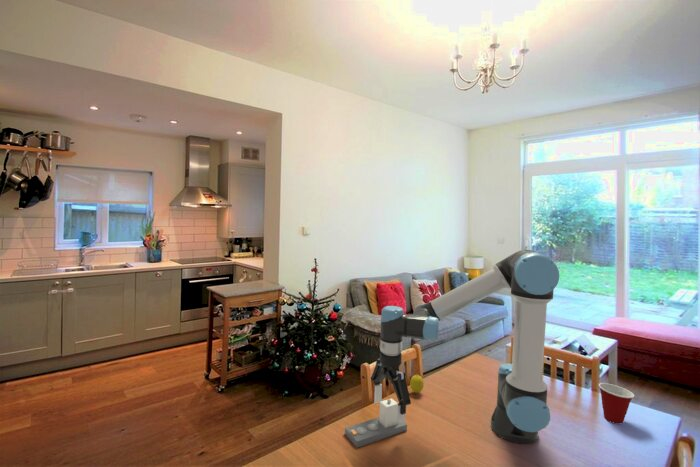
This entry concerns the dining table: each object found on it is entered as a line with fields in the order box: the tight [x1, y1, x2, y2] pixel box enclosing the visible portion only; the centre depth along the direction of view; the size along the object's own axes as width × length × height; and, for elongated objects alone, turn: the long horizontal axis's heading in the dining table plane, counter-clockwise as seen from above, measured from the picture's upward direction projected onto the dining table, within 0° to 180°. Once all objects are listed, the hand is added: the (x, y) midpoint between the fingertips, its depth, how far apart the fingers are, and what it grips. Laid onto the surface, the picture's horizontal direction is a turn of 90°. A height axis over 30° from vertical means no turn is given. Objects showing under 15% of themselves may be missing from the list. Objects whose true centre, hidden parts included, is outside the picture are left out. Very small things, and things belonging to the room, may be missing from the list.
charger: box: [378, 398, 398, 429], centre depth 121 cm, size 4×5×10 cm
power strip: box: [344, 417, 408, 448], centre depth 119 cm, size 8×20×4 cm, turn 119°
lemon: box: [409, 374, 424, 394], centre depth 148 cm, size 6×6×8 cm
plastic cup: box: [598, 382, 635, 424], centre depth 132 cm, size 11×11×12 cm
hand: (388, 411), depth 121 cm, fingers open, 13 cm apart
